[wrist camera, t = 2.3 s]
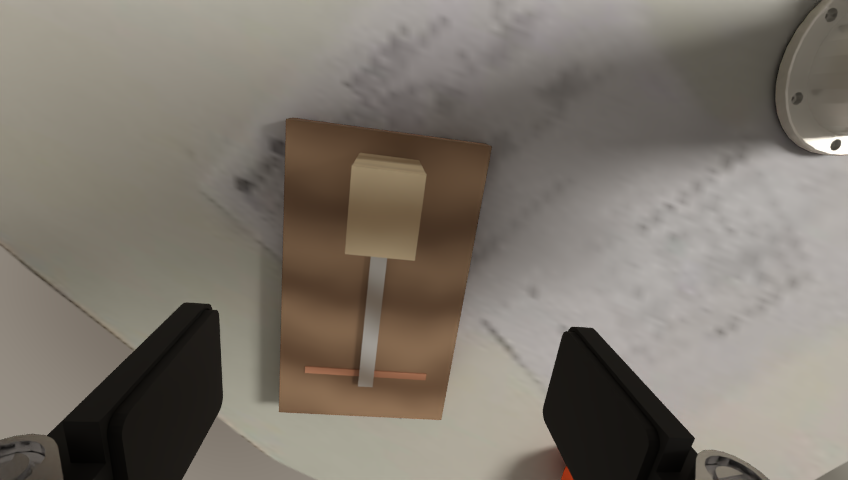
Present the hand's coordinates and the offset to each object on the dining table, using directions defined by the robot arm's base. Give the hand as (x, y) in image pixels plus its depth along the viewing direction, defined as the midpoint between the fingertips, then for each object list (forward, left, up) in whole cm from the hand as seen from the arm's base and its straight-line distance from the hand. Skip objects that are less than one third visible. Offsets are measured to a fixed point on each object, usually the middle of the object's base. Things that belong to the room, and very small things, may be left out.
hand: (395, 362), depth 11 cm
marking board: (+7, 0, -21) cm, 22 cm away
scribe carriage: (0, 0, -18) cm, 18 cm away
